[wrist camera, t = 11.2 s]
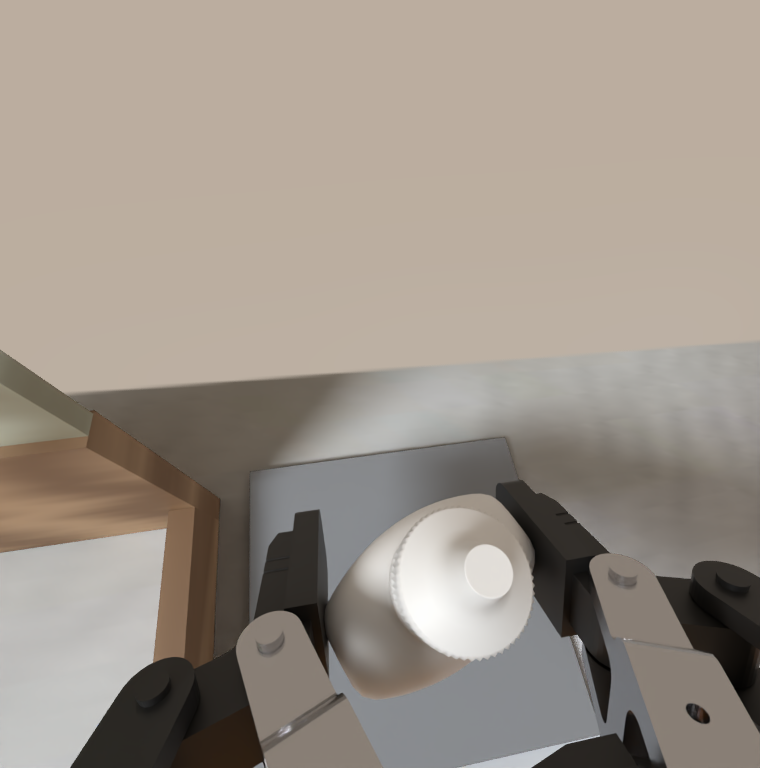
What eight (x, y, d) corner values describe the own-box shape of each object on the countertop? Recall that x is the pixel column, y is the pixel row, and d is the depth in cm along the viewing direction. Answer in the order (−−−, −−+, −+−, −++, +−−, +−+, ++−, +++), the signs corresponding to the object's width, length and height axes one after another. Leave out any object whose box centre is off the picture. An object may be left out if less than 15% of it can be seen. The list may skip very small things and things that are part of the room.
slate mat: (251, 810, 14) (248, 815, 13) (252, 474, 19) (250, 471, 19) (596, 731, 15) (601, 734, 15) (502, 439, 21) (504, 437, 20)
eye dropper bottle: (335, 540, 17) (290, 438, 6) (462, 529, 17) (618, 416, 7) (338, 664, 15) (281, 816, 4) (483, 648, 15) (759, 751, 5)
